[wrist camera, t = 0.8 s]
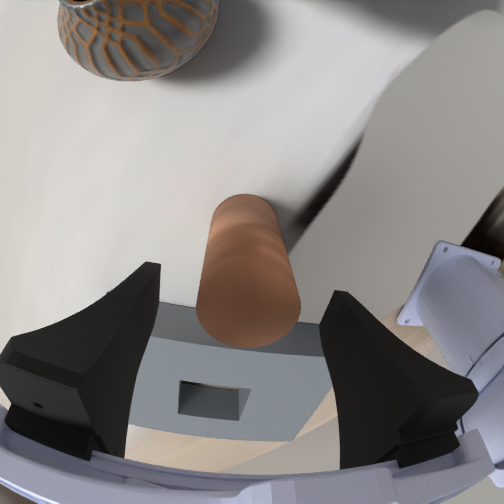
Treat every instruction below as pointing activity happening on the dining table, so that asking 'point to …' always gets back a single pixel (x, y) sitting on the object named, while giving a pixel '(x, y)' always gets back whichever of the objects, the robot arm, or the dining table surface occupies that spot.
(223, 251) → the peg
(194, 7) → the vase
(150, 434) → the dining table surface
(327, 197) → the dining table surface
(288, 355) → the socket board
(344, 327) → the robot arm
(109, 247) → the dining table surface
